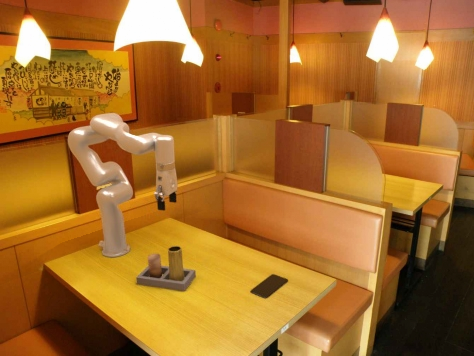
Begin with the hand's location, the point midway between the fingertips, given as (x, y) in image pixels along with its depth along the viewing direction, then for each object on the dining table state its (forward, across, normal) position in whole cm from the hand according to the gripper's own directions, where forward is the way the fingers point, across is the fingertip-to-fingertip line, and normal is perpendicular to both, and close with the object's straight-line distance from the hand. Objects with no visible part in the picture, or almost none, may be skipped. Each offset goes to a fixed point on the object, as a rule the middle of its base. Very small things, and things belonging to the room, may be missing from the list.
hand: (167, 205), depth 159 cm
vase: (+26, -12, -10) cm, 31 cm away
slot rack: (+27, -12, -5) cm, 30 cm away
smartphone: (+26, -5, -46) cm, 53 cm away
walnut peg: (+27, -13, 0) cm, 30 cm away
